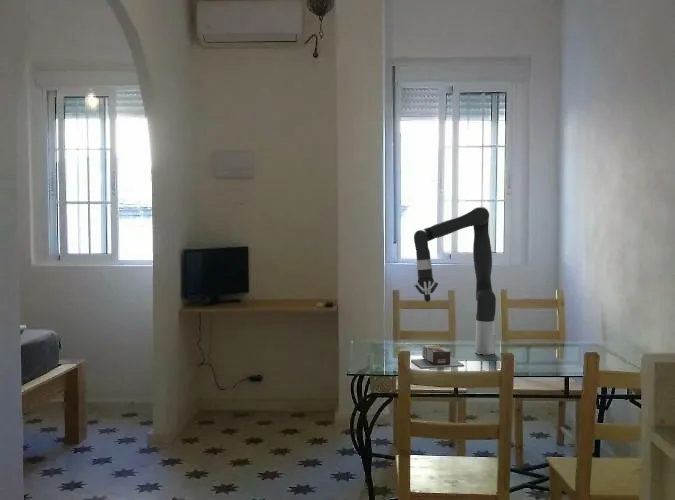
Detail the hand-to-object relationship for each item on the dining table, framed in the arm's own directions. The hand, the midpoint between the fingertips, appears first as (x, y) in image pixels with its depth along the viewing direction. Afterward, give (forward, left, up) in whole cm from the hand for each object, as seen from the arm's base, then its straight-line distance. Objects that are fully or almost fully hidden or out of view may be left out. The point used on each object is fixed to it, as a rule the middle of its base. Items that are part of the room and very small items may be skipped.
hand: (427, 301), depth 399 cm
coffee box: (+4, +17, -22) cm, 28 cm away
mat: (+5, +27, -26) cm, 38 cm away
